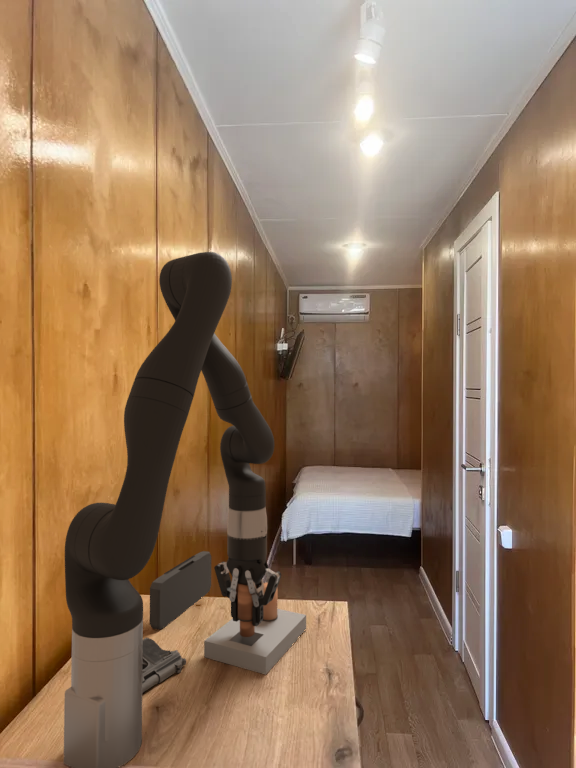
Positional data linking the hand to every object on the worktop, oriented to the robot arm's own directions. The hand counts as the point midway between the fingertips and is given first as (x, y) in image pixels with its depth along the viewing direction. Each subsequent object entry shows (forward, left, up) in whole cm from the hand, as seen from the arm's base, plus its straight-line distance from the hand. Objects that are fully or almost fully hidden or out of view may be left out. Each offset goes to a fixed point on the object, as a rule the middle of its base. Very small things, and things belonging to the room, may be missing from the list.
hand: (247, 621), depth 91 cm
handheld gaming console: (+10, +23, -6) cm, 26 cm away
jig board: (+4, 0, -6) cm, 7 cm away
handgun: (-15, +14, -7) cm, 22 cm away
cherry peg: (0, 0, -2) cm, 2 cm away
